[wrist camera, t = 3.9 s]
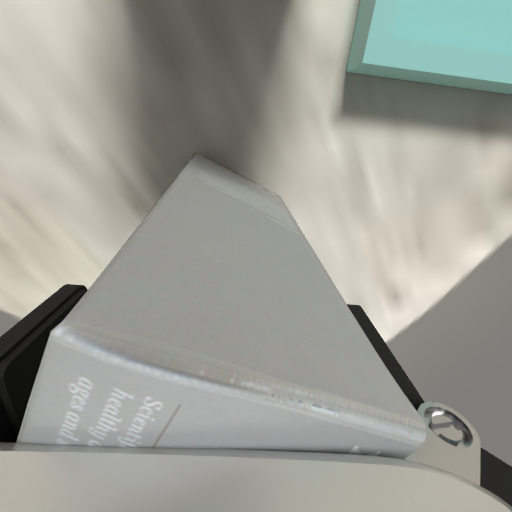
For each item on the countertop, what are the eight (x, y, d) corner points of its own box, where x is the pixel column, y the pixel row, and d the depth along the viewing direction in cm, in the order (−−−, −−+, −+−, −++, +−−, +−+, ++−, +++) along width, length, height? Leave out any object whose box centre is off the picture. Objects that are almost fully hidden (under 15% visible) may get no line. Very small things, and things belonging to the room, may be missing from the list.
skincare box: (195, 149, 17) (-42, 262, 3) (292, 202, 19) (477, 443, 4) (149, 259, 20) (-83, 602, 5) (237, 296, 22) (237, 626, 7)
